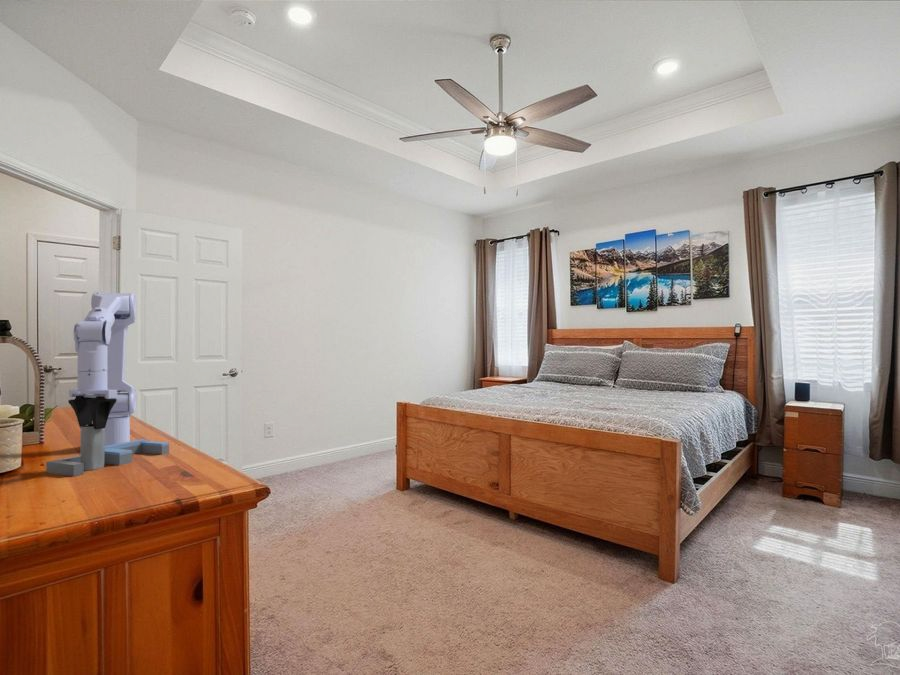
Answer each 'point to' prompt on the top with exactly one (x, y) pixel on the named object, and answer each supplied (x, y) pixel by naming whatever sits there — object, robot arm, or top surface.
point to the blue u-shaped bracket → (117, 449)
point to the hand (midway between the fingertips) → (92, 428)
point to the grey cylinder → (92, 447)
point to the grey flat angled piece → (74, 467)
